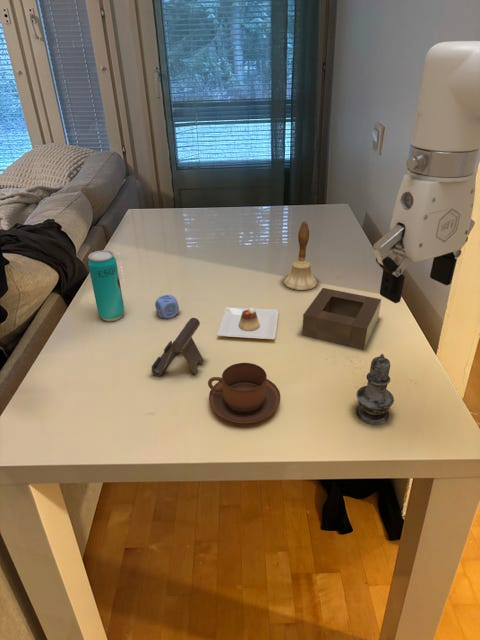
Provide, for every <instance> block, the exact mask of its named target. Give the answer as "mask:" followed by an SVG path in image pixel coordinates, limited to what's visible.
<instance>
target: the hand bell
mask: <svg viewBox="0 0 480 640" xmlns="http://www.w3.org/2000/svg"><path fill="white" fill-rule="evenodd" d="M297 238H298V239H297V240H298V245H299V246H298V247H299V250H298V258H297V260H295V261H293V262H292V265H291V270H290V272H289V274H288V275H287V276H286V277H285V279H284V280H283V284H284V285H285V287H287V288H288V289H291V290H296V291H308V290H312V289H314V288H316V286H317V285H318V281H317V279H316V278H315V277H314V276H313V274H312V269H311V263H310V262H309V261H308V260H306V256H307V253H306V252H307V245H308V243H309V239H310V229H309V224H308V221H305V220H304V221H301V225H300V227H299V230H298V233H297Z"/></svg>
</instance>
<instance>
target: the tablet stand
mask: <svg viewBox="0 0 480 640" xmlns="http://www.w3.org/2000/svg"><path fill="white" fill-rule="evenodd" d="M200 325H201V322H200V320H199V319H198V318H197V317H191V318H190V319H189V320H188V321H187V322H186V324H185V325H184V327H183V328H182V329H181V331H180V332H179V333H178V335H177V337H176V338H175V339H174V340H173V341H172V340H170V341H169V342H168V343H167V344H166V346H165V347H164V349H163V353H162V355H161V356H158V357H157V358H156V359H155V361H154V362H153V364H151V373H152V374H153V376H156V377H160V376H161V375H162V374H163V373H164V372H165V370H166V368H167V366H168V365H169V364H170V362H171V361H172V359H173V358H174V356H175V355H176V354H177V353H181V354H182V355H183V357H184V359H185V361H186V363H187V365H188V367H189V368H190V370H191V373H192V374H193V375H194V376H195V375H197V374H198V372H199V369H198V368H197V364H198V363H199V364H200V366H202V365H203V364H204V361H205V359H204V357H203V356H202V354H201V352H200V350H199V348H198V347H197V344H196V342H195V340H194V338H193V336H194V334H195V333H196V331H197V329H199V327H200Z"/></svg>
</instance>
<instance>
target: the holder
mask: <svg viewBox="0 0 480 640" xmlns="http://www.w3.org/2000/svg"><path fill="white" fill-rule="evenodd" d="M381 304H382V299H381V298H377V297H371V296H366V295H362V294H357V293H351V292H346V291H342V290H336V289H331V288H325V287H322V288H321V289H320V291H319V292H318V293H317V294H316V296H315V298H314V299H313V301H312V302H311V303H310V305H309V306H308V308H306V310H305V311H304V312H303V315H302V330H301V336H305V337H308V338H313V339H317V340H322V341H325V342H329V343H334V344H338V345H343V346H346V347H351V348H355V349H359V350H365V349H366V347H367V345H368V342H369V340H370V339H371V336H372V333H373V332H374V329H375V327H376V325H377V323H378V320H379V317H380V309H381Z"/></svg>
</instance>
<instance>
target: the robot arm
mask: <svg viewBox="0 0 480 640" xmlns="http://www.w3.org/2000/svg"><path fill="white" fill-rule="evenodd" d="M418 92H419V93H418V99H417V105H416V111H415V117H414V124H413V127H412V128H413V129H412V134H411V141H410V147H409V153H408V158H407V159H406V163H405V165H406V171H405V174H404V175H403V177H402V180H401V183H400V187H399V189H398V193H397V196H396V198H395V199H396V200H395V204H394V207H393V211H392V216H391V221H390V226H389V231H388V232H387V233H386V234H384V235H383V236H382V237H381V238H379V239H378V240H377V241H376V242H375V243H374V244H373V246H372V250H373V253H374V256H375V263H376V264H377V265H378V266H379V269H381V270H382V276H381V280H380V281H381V282H380V288H379V295H380V296H382V298H385V299H386V300H388V301H390V302H392V303H393V304H398V303H400V302H401V299H402V294H403V290H404V283H405V278H406V276H405V275H404V274H403V272H404V271H405V270H406V268H407V267H408V265H409V264H410V263H411V261H412V262H414V263H420V262H425V261H428V260H431V259H432V264H431V269H430V274H429V278H430V279H432V280H433V281H436V282H438V283H439V284H442V285H444V286H449V285H451V284H452V281H453V277H454V273H455V267H456V265H457V260H458V258H460V257H461V256H462V248H463V247H464V246H465V245H466V243H467V242H468V241H469V240H468V239H469V237H468V236H469V235H470V234H471V232H472V230H473V229H474V226H475V220H474V219H472V216H473V210H474V203H475V197H476V196H475V195H476V186H477V185H476V184H477V183H476V182H477V180H476V177H477V176H476V174H477V173H476V172H475V170H476V165H477V161H478V157H479V153H480V40H455V41H441V42H438V43H435V44H434V45H433V46H432V47H430V49H429V50H428V51H427V53H426V56H425V59H424V62H423V68H422V75H421V80H420V86H419V91H418ZM397 256H399V257H401V258H400V259H399V261H398V262H395V259H396V258H397Z"/></svg>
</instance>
